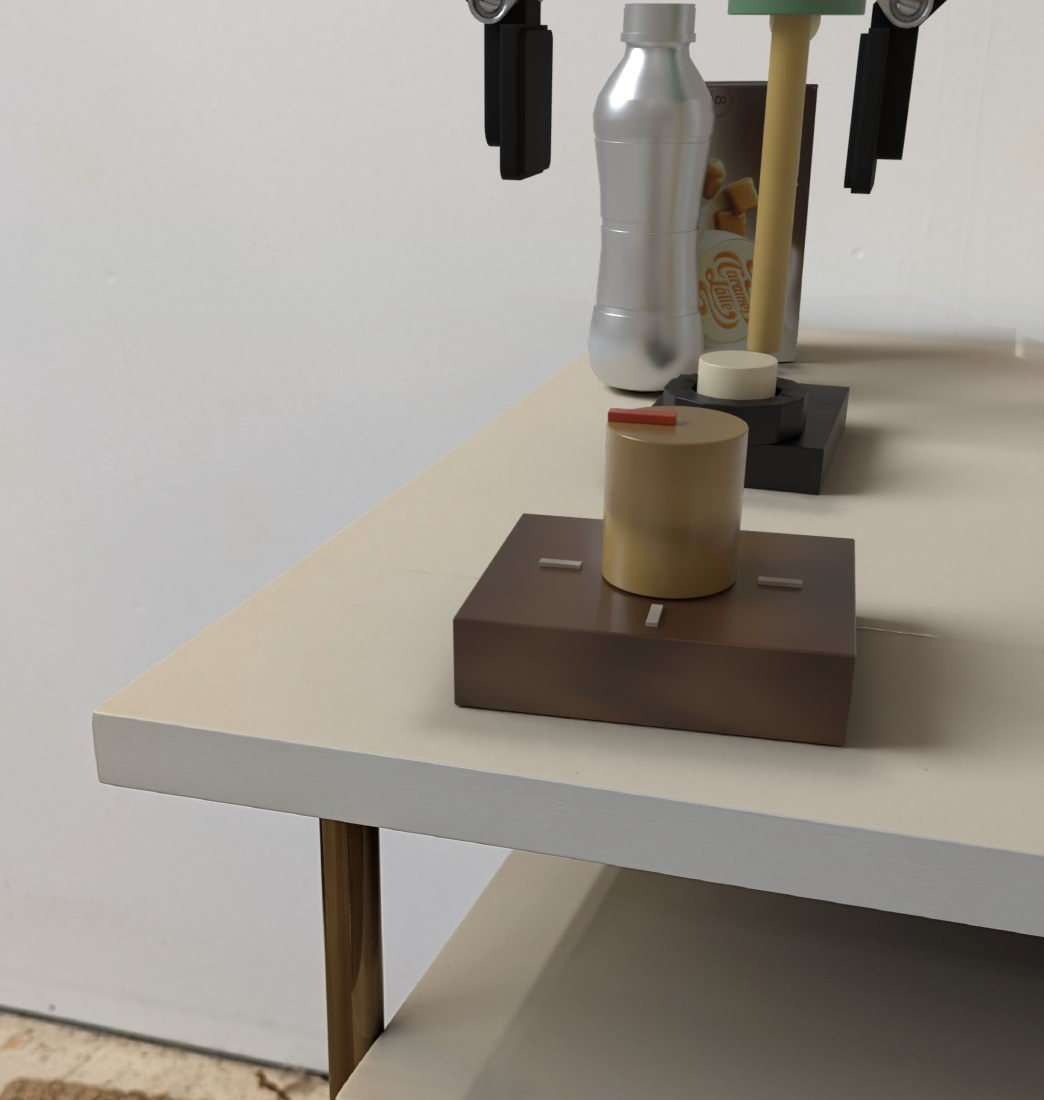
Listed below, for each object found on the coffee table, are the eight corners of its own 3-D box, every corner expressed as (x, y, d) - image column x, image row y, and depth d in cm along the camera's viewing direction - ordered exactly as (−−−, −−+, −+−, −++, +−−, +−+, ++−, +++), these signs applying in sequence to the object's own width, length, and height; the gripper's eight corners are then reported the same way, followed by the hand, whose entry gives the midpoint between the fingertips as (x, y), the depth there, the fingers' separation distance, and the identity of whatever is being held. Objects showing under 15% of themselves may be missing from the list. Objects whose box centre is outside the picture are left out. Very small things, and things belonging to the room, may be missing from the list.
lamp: (717, 329, 74) (747, -102, 64) (834, 337, 72) (883, -104, 63) (694, 354, 68) (724, -113, 59) (821, 363, 66) (872, -116, 57)
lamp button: (704, 384, 64) (707, 347, 63) (779, 390, 63) (783, 353, 62) (689, 402, 61) (692, 364, 60) (768, 409, 60) (772, 370, 59)
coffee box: (765, 342, 89) (787, 78, 82) (797, 364, 84) (824, 83, 76) (631, 346, 88) (642, 79, 81) (655, 368, 82) (669, 83, 75)
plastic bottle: (688, 407, 74) (712, 2, 65) (571, 397, 76) (580, 2, 67) (711, 381, 79) (737, 4, 70) (602, 372, 81) (613, 4, 72)
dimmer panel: (845, 616, 48) (855, 533, 47) (844, 747, 39) (857, 650, 38) (522, 587, 50) (522, 508, 49) (453, 705, 42) (451, 613, 40)
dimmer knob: (740, 555, 45) (754, 400, 43) (730, 605, 41) (744, 437, 39) (612, 545, 46) (618, 392, 44) (590, 592, 42) (596, 428, 40)
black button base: (678, 413, 73) (682, 339, 71) (845, 428, 71) (853, 352, 69) (622, 481, 62) (625, 396, 60) (817, 501, 60) (826, 413, 58)
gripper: (1122, -588, 32) (999, 181, 39) (432, -524, 36) (443, 161, 43) (1168, -748, 25) (1010, 210, 33) (320, -646, 29) (356, 183, 37)
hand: (687, 181), depth 38 cm, fingers open, 9 cm apart
